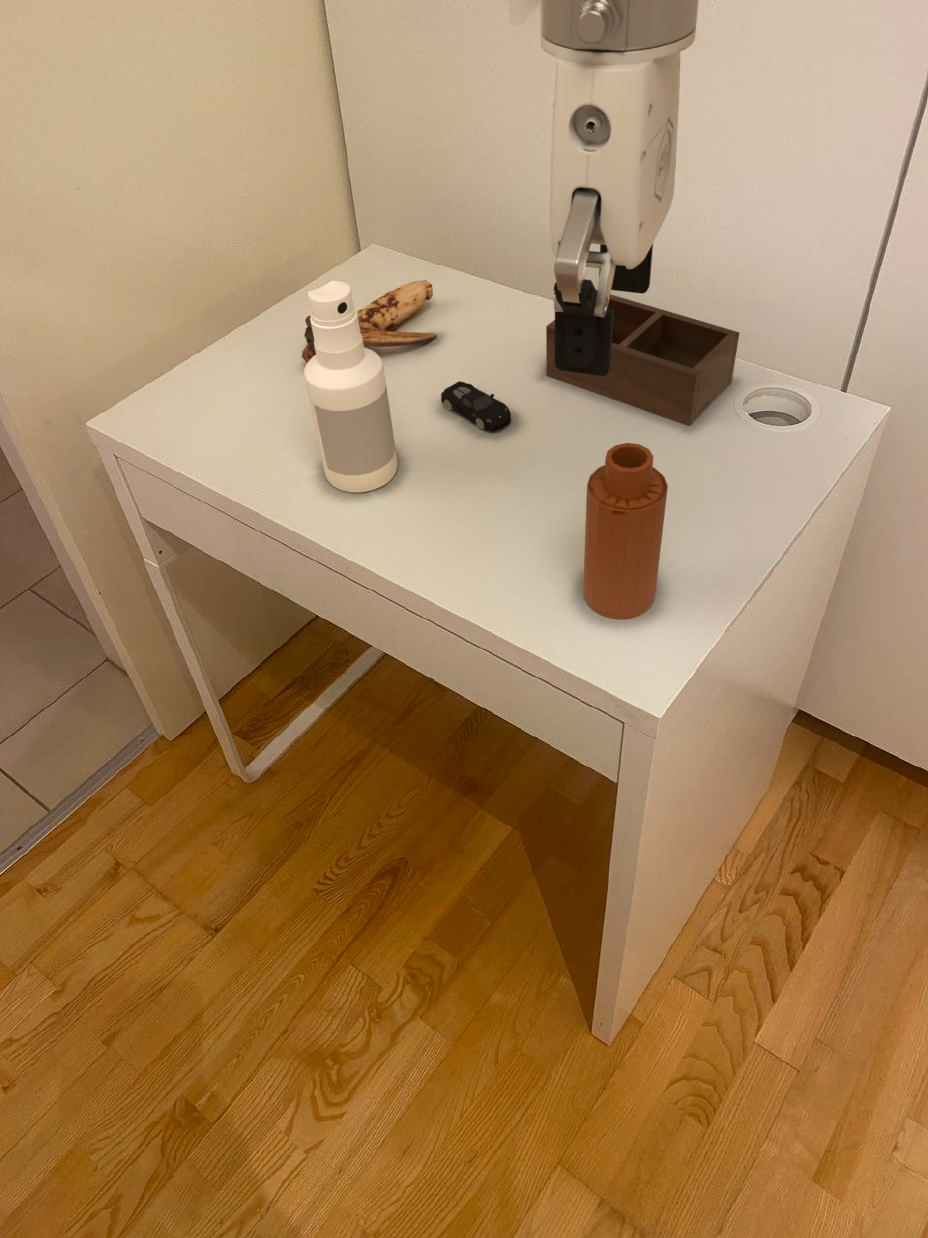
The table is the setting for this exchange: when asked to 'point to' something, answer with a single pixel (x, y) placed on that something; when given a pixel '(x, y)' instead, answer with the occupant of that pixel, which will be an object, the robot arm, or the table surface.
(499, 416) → the toy car
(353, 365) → the spray bottle
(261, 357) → the table surface
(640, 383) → the holder
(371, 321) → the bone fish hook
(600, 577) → the bottle
